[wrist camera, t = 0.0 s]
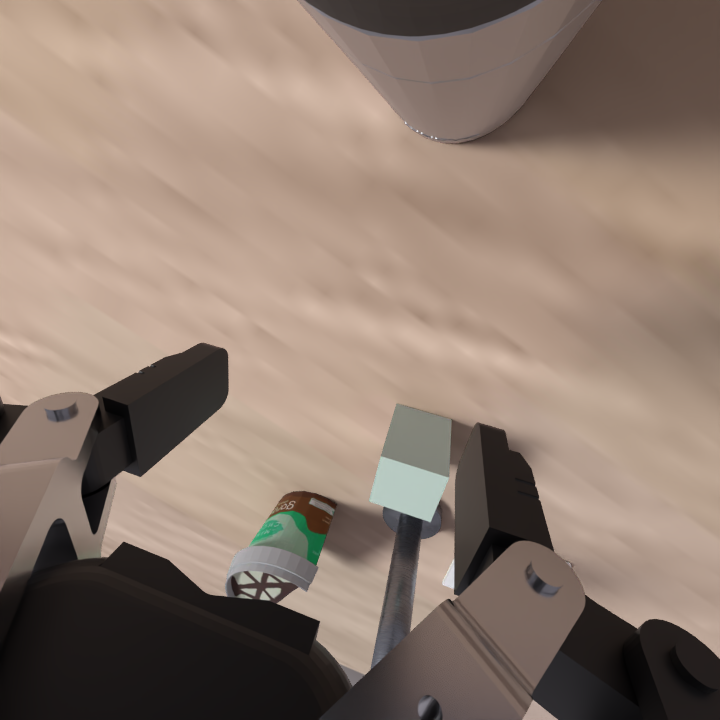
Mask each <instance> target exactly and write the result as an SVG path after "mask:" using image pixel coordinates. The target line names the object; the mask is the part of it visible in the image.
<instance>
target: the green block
mask: <svg viewBox="0 0 720 720" xmlns="http://www.w3.org/2000/svg"><path fill="white" fill-rule="evenodd" d="M451 423H452V419H448V418H445V417H441V416H438V415H435V414H431V413H428V412H424V411H421V410H417V409H414V408H411V407H407V406H404V405H400V404H396V407H395V411H394V414H393V417H392V421H391V424H390V427H389V431H388V434H387V437H386V441H385V444H384V447H383V451H382V454H381V457H380V461H379V465H378V469H377V472H376V476H375V480H374V484H373V488H372V491H371V495H370V499H369V501H370V502H373V503H375V504H378V505H381V506H384V507H387V508H390V509H393V510H396V511H399V512H402V513H405V514H408V515H411V516H414V517H416V518H419V519H422V520H425V521H428V522H431V520H432V518H433V515H434V513H435V510H436V508H437V506H438V503H439V501H440V498H441V496H442V494H443V491H444V489H445V486H446V484H447V482H448V479H449V469H450V446H451Z"/></svg>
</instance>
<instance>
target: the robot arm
mask: <svg viewBox="0 0 720 720" xmlns="http://www.w3.org/2000/svg"><path fill="white" fill-rule="evenodd" d="M297 1H298V2H299V3H300V4H301V5H302V6H303V7H304V9H305V10H306V11H307V12H308V13H309V14H310V15H311V17H312V18H313V19H314V20H315V21H316V22H317V23H318V25H319V26H320V27H321V28H322V29H323V30H324V31H325V32H326V34H327V35H328V36H329V37H330V38H331V39H332V40H333V41H334V42H335V43H336V44H337V46H338V47H339V48H340V49H341V50H342V51H343V52H344V54H345V55H346V56H347V57H348V58H349V59H350V60H351V62H352V63H353V64H354V65H355V66H356V67H357V68H358V70H359V71H360V72H361V73H362V74H363V75H364V76H365V78H366V79H367V80H368V81H369V82H370V83H371V84H372V86H373V87H374V88H375V89H376V90H377V91H378V92H379V94H380V95H381V96H382V97H383V98H384V99H385V100H386V101H387V103H388V104H389V105H390V106H391V107H392V108H393V110H394V111H395V112H396V113H397V114H398V115H399V116H400V118H401V119H402V120H403V121H404V123H405V124H406V125H407V126H409V127H410V128H411V129H412V130H413V131H415V132H417V133H418V134H420V135H422V136H423V137H425V138H427V139H430V140H434V141H437V142H440V143H461V142H466V141H471V140H475V139H477V138H479V137H482V136H484V135H486V134H489V133H491V132H492V131H494V130H495V129H496V128H498V127H499V126H501V125H502V124H504V123H505V122H507V121H508V120H509V119H510V118H511V117H512V116H513V115H514V114H515V113H516V112H517V111H518V110H519V109H520V108H521V107H522V106H523V104H524V103H525V102H526V100H527V99H528V98H529V96H530V95H531V94H532V92H533V91H534V90H535V89H536V87H537V86H538V85H539V84H540V82H541V81H542V80H543V78H544V77H545V76H546V74H547V73H548V72H549V70H550V69H551V68H552V66H553V65H554V64H555V62H556V61H557V60H558V58H559V57H560V56H561V54H562V53H563V52H564V50H565V49H566V48H567V46H568V45H569V44H570V42H571V41H572V40H573V38H574V37H575V36H576V34H577V33H578V32H579V30H580V29H581V28H582V26H583V25H584V24H585V22H586V21H587V20H588V18H589V17H590V16H591V14H592V13H593V12H594V10H595V9H596V8H597V6H598V5H599V4H600V2H601V1H602V0H297ZM228 389H229V388H228V353H227V351H226V350H225V349H223V348H220V347H216V346H213V345H209V344H206V343H199V344H197V345H196V346H194V347H192V348H190V349H188V350H186V351H185V352H183V353H179V354H175V355H172V356H168V357H165V358H163V359H161V360H159V361H157V362H155V363H153V364H151V366H150V367H149V366H148V367H146V368H144V369H142V370H140V371H139V373H134V374H132V375H131V376H129V377H127V378H125V379H123V380H121V381H119V382H117V383H115V384H114V385H112V386H110V387H108V388H106V389H104V390H102V391H100V392H98V393H97V394H95V395H91V394H88V393H83V392H67V393H60V394H55V395H51V396H48V397H45V398H42V399H40V400H38V401H36V402H34V403H32V404H31V405H29V406H23V405H10V404H3V402H2V400H1V397H0V720H522V719H523V717H524V716H525V714H526V712H527V710H528V708H529V707H530V705H531V702H532V700H534V701H536V702H537V703H538V704H539V705H541V706H542V707H543V708H544V709H546V710H547V711H548V712H549V713H551V714H552V715H553V716H554V717H556V718H557V719H558V720H720V659H719V658H718V657H717V656H716V655H715V654H714V653H713V652H712V651H711V650H710V649H709V648H708V647H707V646H706V645H705V644H703V643H702V642H701V641H700V640H698V639H697V638H696V637H694V636H693V635H692V634H690V633H689V632H687V631H686V630H684V629H682V628H680V627H679V626H677V625H674V624H672V623H670V622H667V621H664V620H658V619H650V620H648V621H646V622H644V623H643V624H642V625H641V626H640V627H639V628H638V629H637V628H635V627H634V626H632V625H631V624H629V623H627V622H626V621H624V620H623V619H621V618H619V617H618V616H616V615H615V614H613V613H612V612H610V611H608V610H607V609H605V608H604V607H602V606H600V605H599V604H597V603H596V602H594V601H593V600H591V599H590V598H589V597H588V596H586V595H585V593H584V590H583V587H582V584H581V582H580V580H579V579H578V577H577V575H576V574H575V572H574V571H573V570H572V568H571V567H570V566H569V565H568V564H567V563H566V562H565V561H564V560H563V559H562V558H561V557H560V556H559V555H557V554H556V553H555V552H554V549H553V546H552V542H551V538H550V535H549V531H548V527H547V524H546V520H545V517H544V513H543V509H542V506H541V502H540V500H539V495H538V491H537V488H536V487H535V480H534V477H533V473H532V469H531V468H530V466H529V465H528V463H527V462H526V461H525V459H524V458H523V457H522V455H521V454H520V453H518V452H514V451H511V450H509V448H508V443H507V438H506V433H505V431H504V430H502V429H499V428H495V427H492V426H488V425H485V424H481V423H476V424H475V426H474V428H473V430H472V433H471V435H470V438H469V440H468V443H467V445H466V447H465V450H464V452H463V455H462V457H461V460H460V462H459V465H458V469H457V473H456V479H455V553H454V594H455V595H458V597H457V598H456V599H455V600H454V601H451V600H450V599H447V600H445V601H444V602H442V603H441V604H440V605H439V606H438V607H436V608H435V609H434V610H433V611H432V612H431V613H430V614H429V615H428V616H427V617H426V618H425V619H424V620H423V621H422V622H421V623H420V624H418V625H417V626H416V627H415V628H414V629H413V630H412V631H411V632H410V633H409V634H408V635H407V636H406V637H405V638H404V639H403V640H402V641H401V642H399V643H398V644H397V645H396V646H395V647H394V648H393V649H392V650H391V651H390V652H389V653H388V654H387V655H386V656H385V657H384V658H383V659H382V660H380V661H379V662H378V663H377V664H376V665H375V666H374V667H373V668H372V669H371V670H370V671H369V672H368V673H367V674H366V675H365V676H364V677H363V678H362V679H360V680H359V681H358V682H357V683H356V684H355V685H354V686H352V685H351V683H350V681H349V679H348V677H347V675H346V674H345V672H344V671H343V669H342V668H341V666H340V665H339V663H338V662H337V661H336V660H335V658H334V657H333V656H332V655H331V654H330V653H329V652H328V651H327V649H326V648H325V647H323V646H322V645H321V644H320V643H319V642H318V641H317V640H316V637H317V633H318V628H319V623H320V621H318V620H315V619H313V618H310V617H308V616H305V615H303V614H300V613H298V612H296V611H293V610H291V609H288V608H286V607H283V606H281V605H278V604H276V603H273V602H271V601H268V600H259V599H248V598H237V597H226V596H215V595H209V594H207V593H205V592H204V591H202V590H201V589H200V588H199V587H198V586H197V585H196V584H195V583H194V582H192V581H191V580H190V579H189V578H188V577H187V576H186V575H185V574H184V573H182V572H181V571H180V570H179V569H178V568H177V567H176V566H175V565H174V564H172V563H171V562H170V561H169V560H167V559H165V558H163V557H160V556H158V555H155V554H153V553H150V552H148V551H145V550H143V549H140V548H138V547H135V546H133V545H131V544H128V543H126V542H123V543H122V544H121V545H120V546H119V547H118V548H117V549H116V550H115V551H114V552H113V553H112V554H111V555H110V556H109V557H108V558H107V557H102V558H101V547H102V542H103V538H104V534H105V530H106V526H107V521H108V517H109V513H110V509H111V505H112V501H113V497H114V493H115V489H116V484H117V483H116V478H115V476H117V475H118V474H119V473H120V472H122V471H126V472H128V473H131V474H134V475H137V476H139V477H141V476H142V475H144V474H145V473H146V472H147V471H148V470H149V469H150V468H152V467H153V466H154V465H155V464H156V463H157V462H159V461H160V460H161V459H162V458H163V457H164V456H165V455H167V454H168V453H169V452H170V451H171V450H172V449H174V448H175V447H176V446H177V445H178V444H179V443H180V442H182V441H183V440H184V439H185V438H186V437H187V436H189V435H190V434H191V433H192V432H193V431H194V430H195V429H197V428H198V427H199V426H200V425H201V424H202V423H204V422H205V421H206V420H207V419H208V418H209V417H211V416H212V415H213V414H214V413H215V412H216V411H217V410H219V409H220V408H221V407H222V405H223V404H224V402H225V401H226V398H227V395H228Z"/></svg>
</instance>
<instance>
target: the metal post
mask: <svg viewBox="0 0 720 720" xmlns="http://www.w3.org/2000/svg"><path fill="white" fill-rule="evenodd" d="M441 516H442V512H441V508H440V506H439V504H438V506H437V508H436V510H435V513H434V515H433V518H432V520H431V522H428V521H425V520H422V519H419V518H416V517H414V516H411V515H408V514H405V513H402V512H399V511H396V510H393V509H390V508H387V507H384V508H383V518H384V521H385V522H386V524H387V525H388V526H389V527H390V528H391V529H392V530H393V531H395V532H396V538H395V543H394V549H393V554H392V559H391V564H390V570H389V575H388V580H387V585H386V591H385V596H384V601H383V607H382V612H381V617H380V622H379V628H378V633H377V638H376V643H375V649H374V654H373V659H372V665H371V669H372V668H373V667H374V666H375V665H376V664H377V663H378V662H379V661H380V660H382V659H383V658H384V657H385V656H386V655H387V654H388V653H389V652H390V651H391V650H392V649H393V648H394V647H395V646H396V645H397V644H398V643H399V642H401V641H402V640H403V639H404V638H405V637H406V636H407V635H408V634H409V633H410V628H411V619H412V611H413V602H414V594H415V585H416V576H417V568H418V559H419V551H420V542H421V539H426V538H430V537H432V536H434V535H435V534H436V533H437V532H438V531H439V530H440V527H441Z"/></svg>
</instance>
